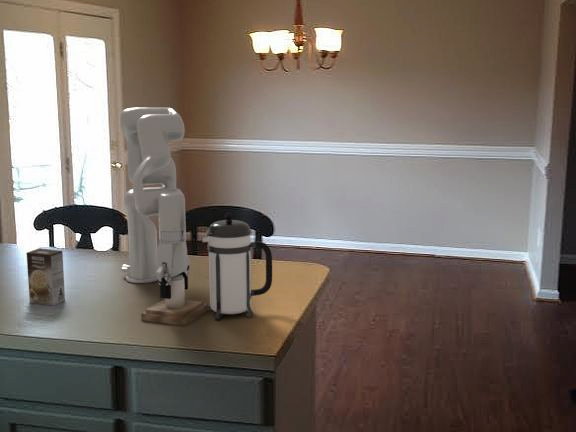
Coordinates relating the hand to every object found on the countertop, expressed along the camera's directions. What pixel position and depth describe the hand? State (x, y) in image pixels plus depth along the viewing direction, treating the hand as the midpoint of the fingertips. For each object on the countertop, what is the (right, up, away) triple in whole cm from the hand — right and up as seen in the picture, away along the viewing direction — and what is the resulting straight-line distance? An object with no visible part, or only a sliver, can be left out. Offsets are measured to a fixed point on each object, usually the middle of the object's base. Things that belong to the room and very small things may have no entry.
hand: (174, 293), depth 201 cm
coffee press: (+17, -6, +4) cm, 19 cm away
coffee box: (-42, -4, +15) cm, 45 cm away
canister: (0, -4, +1) cm, 4 cm away
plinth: (0, -7, +1) cm, 7 cm away
